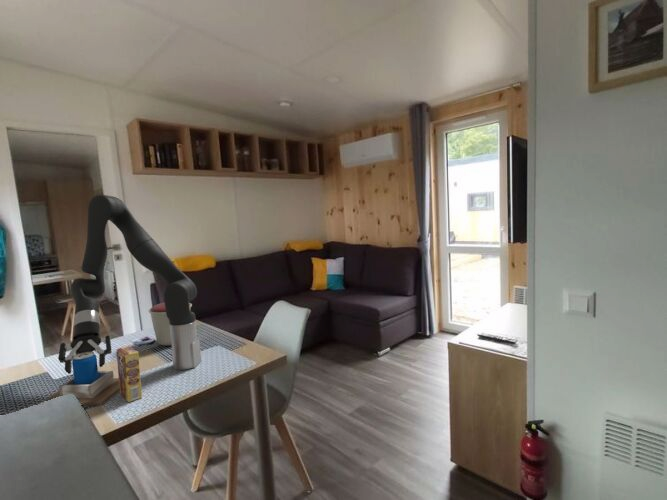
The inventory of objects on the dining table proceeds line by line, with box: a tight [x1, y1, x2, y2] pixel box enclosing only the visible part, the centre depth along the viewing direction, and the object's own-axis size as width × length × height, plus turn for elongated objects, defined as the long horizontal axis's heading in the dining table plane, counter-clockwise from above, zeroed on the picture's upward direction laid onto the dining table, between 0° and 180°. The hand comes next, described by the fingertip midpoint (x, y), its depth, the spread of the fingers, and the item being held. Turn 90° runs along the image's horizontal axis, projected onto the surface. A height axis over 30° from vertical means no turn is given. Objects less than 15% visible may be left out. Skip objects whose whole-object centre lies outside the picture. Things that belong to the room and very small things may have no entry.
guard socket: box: [39, 370, 120, 407], centre depth 112 cm, size 20×16×5 cm
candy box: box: [116, 345, 143, 403], centre depth 109 cm, size 9×4×15 cm, turn 47°
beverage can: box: [71, 351, 99, 385], centre depth 112 cm, size 6×6×12 cm
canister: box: [148, 302, 193, 347], centre depth 157 cm, size 18×18×21 cm
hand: (85, 369), depth 111 cm, fingers open, 8 cm apart
